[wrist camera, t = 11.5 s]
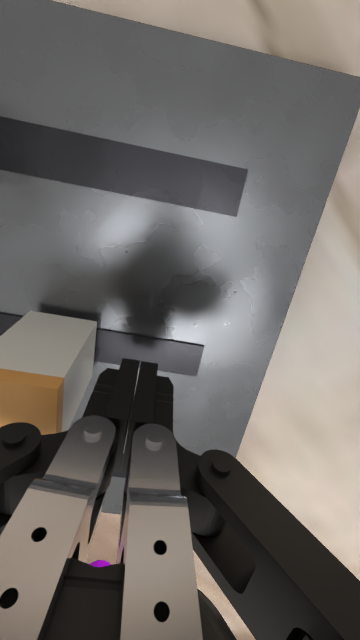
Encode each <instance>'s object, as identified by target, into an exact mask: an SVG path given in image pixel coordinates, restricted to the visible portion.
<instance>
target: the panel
mask: <svg viewBox="0 0 360 640" xmlns="http://www.w3.org/2000/svg"><path fill="white" fill-rule="evenodd" d="M359 108H360V77H357V76H353V75H349V74H345V73H341V72H337V71H333V70H329V69H325V68H321V67H317V66H313V65H309V64H305V63H301V62H297V61H292V60H288V59H284V58H280V57H276V56H272V55H268V54H264V53H260V52H256V51H252V50H248V49H244V48H240V47H236V46H232V45H228V44H224V43H220V42H216V41H212V40H208V39H204V38H200V37H196V36H192V35H188V34H184V33H180V32H176V31H172V30H168V29H164V28H160V27H156V26H152V25H148V24H144V23H140V22H135V21H131V20H127V19H123V18H119V17H115V16H111V15H107V14H103V13H99V12H95V11H91V10H87V9H83V8H79V7H75V6H71V5H67V4H63V3H59V2H55V1H51V0H0V336H1V335H2V334H4V333H5V332H6V331H7V330H8V329H9V328H11V327H12V326H13V325H14V324H15V323H16V322H18V321H19V320H20V319H21V318H22V317H23V316H25V315H26V314H27V313H28V312H29V311H36V312H42V313H48V314H54V315H60V316H66V317H72V318H79V319H85V320H91V321H97V328H96V340H95V351H94V363H93V374H92V378H91V380H90V382H89V384H88V387H87V389H86V391H85V393H84V396H83V398H82V400H81V402H80V405H79V407H78V409H77V411H76V414H75V416H74V418H73V420H72V423H71V425H70V427H69V429H70V428H71V426H72V425H73V424H74V423H75V422H76V421H77V420H79V419H80V418H82V416H83V414H84V411H85V409H86V406H87V404H88V401H89V399H90V396H91V394H92V391H93V389H94V387H95V384H96V382H97V379H98V377H99V374H101V373H102V372H103V371H104V370H106V369H107V368H112V369H118V370H119V368H120V365H121V362H122V359H123V358H126V359H132V360H139V361H140V364H139V370H140V365H141V361H145V362H152V363H158V371H157V376H164V377H169V379H170V380H171V382H172V384H173V385H174V394H173V434H174V436H175V439H176V440H177V442H178V443H179V444H180V445H181V446H182V447H183V448H185V449H186V450H188V451H190V452H193V453H195V454H197V455H200V456H201V455H202V454H203V453H204V452H205V451H208V450H213V449H216V450H222V451H225V452H227V453H229V454H230V455H232V456H233V457H234V458H236V455H237V452H238V449H239V446H240V444H241V441H242V438H243V435H244V432H245V429H246V427H247V424H248V421H249V418H250V415H251V412H252V410H253V407H254V404H255V401H256V398H257V396H258V393H259V390H260V387H261V384H262V381H263V379H264V376H265V373H266V370H267V367H268V365H269V362H270V359H271V356H272V353H273V350H274V348H275V345H276V342H277V339H278V336H279V334H280V331H281V328H282V325H283V322H284V319H285V317H286V314H287V311H288V308H289V305H290V302H291V300H292V297H293V294H294V291H295V288H296V286H297V283H298V280H299V277H300V274H301V271H302V269H303V266H304V263H305V260H306V257H307V255H308V252H309V249H310V246H311V243H312V240H313V238H314V235H315V232H316V229H317V226H318V223H319V221H320V218H321V215H322V212H323V209H324V207H325V204H326V201H327V198H328V195H329V192H330V190H331V187H332V184H333V181H334V178H335V176H336V173H337V170H338V167H339V164H340V161H341V159H342V156H343V153H344V150H345V147H346V144H347V142H348V139H349V136H350V133H351V130H352V128H353V125H354V122H355V119H356V116H357V113H358V111H359ZM139 370H138V375H139ZM137 380H138V376H137ZM136 385H137V382H136ZM135 390H136V388H135ZM134 395H135V394H134ZM128 426H129V425H128ZM69 429H68V430H69ZM127 432H128V430H127ZM126 438H127V435H126ZM125 444H126V440H125ZM124 451H125V445H124V450H123V455H122V460H121V465H120V470H119V472H113V473H112V478H111V482H110V485H109V487H108V489H107V495H106V498H105V501H104V504H103V508H102V511H101V512H104V513H113V514H121V507H122V497H123V491H124V485H125V479H126V473H121V469H122V463H123V457H124Z"/></svg>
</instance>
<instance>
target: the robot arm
mask: <svg viewBox="0 0 360 640" xmlns="http://www.w3.org/2000/svg"><path fill="white" fill-rule="evenodd" d="M139 364H140V361H139V360H132V359H126V358H123V359H122V362H121V365H120V368H119V370H118V369H112V368H107V369H106V370H104V371H103V372H102V373H101V374H99V377H98V379H97V382H96V384H95V387H94V389H93V391H92V394H91V396H90V399H89V401H88V404H87V406H86V409H85V411H84V414H83V416H82V418H80V419H79V420H77V421H76V422H75V423H74V424H73V425H72V426H71V428H70V429H69V430H67V431H64V432H60V433H54V434H46V435H41V432H40V430H39V429H38V428H37V427H36V426H34V425H33V424H30V423H25V422H16V423H11V424H7V425H5V426H2V427H0V640H236V638H235V636H234V635H233V633H232V632H231V630H230V628H229V627H228V625H227V623H226V622H225V620H224V619H223V617H222V616H221V614H220V613H219V611H218V610H217V608H216V607H215V606H214V605H213V603H212V602H211V601H210V600H209V599H208V598H207V597H206V596H205V595H204V594H203V593H202V592H201V591H200V590H198V589H197V582H196V573H195V564H194V555H193V550H194V551H195V553H196V554H197V555H198V557H199V558H200V560H201V561H202V563H203V564H204V565H205V567H206V568H207V570H208V571H209V573H210V574H211V576H212V577H213V578H214V580H215V581H216V583H217V584H218V586H219V587H220V588H221V590H222V591H223V593H224V594H225V596H226V597H227V599H228V600H229V601H230V603H231V604H232V606H233V607H234V609H235V610H236V611H237V613H238V614H239V616H240V617H241V619H242V620H243V622H244V623H245V624H246V626H247V627H248V629H249V630H250V632H251V633H252V635H253V636H254V637H255V639H256V640H360V581H359V580H358V579H357V578H356V577H355V576H354V575H353V574H352V573H351V572H350V571H349V570H348V569H347V568H346V567H345V566H344V565H343V564H342V563H341V562H340V561H339V560H338V559H337V558H336V557H335V556H334V555H333V554H332V553H331V552H330V551H329V550H328V549H327V548H326V547H325V546H324V545H323V544H322V543H321V542H320V541H319V540H318V539H317V538H316V537H315V536H314V535H313V534H312V533H311V532H310V531H309V530H308V529H307V528H306V527H304V526H303V525H302V524H301V523H300V522H299V521H298V520H297V519H296V518H295V517H294V516H293V515H292V514H291V513H290V512H289V511H288V510H287V509H286V508H285V507H284V506H283V505H282V504H281V503H280V502H279V501H278V500H277V499H276V498H275V497H274V496H273V495H272V494H271V493H270V492H269V491H268V490H267V489H266V488H265V487H264V486H263V485H262V484H261V483H260V482H259V481H258V480H257V479H256V478H255V477H254V476H253V475H252V474H251V473H250V472H249V471H248V470H247V469H246V468H245V467H244V466H243V465H242V464H241V463H240V462H239V461H238V460H237V459H236V458H234V457H233V456H232V455H230V454H229V453H227V452H225V451H222V450H216V449H213V450H208V451H205V452H204V453H203V454H202V455H201V456H200V455H197V454H195V453H193V452H190V451H188V450H186V449H185V448H183V447H182V446H181V445H180V444H179V443H178V442H177V440H176V439H175V436H174V434H173V394H174V385H173V384H172V382H171V380H170V379H169V377H164V376H157V371H158V363H152V362H145V361H141V365H140V370H139ZM138 370H139V375H138ZM137 376H138V380H137ZM136 382H137V385H136ZM135 388H136V390H135ZM134 394H135V395H134ZM128 425H129V426H128ZM127 430H128V432H127ZM126 435H127V438H126ZM125 440H126V444H125ZM124 445H125V451H124V457H123V463H122V469H121V473H126V479H125V485H124V491H123V497H122V507H121V518H120V529H119V540H118V550H117V560H116V564H114V565H109V566H103V567H94V566H91V565H89V564H87V563H86V561H87V557H88V553H89V549H90V546H91V543H92V540H93V536H94V533H95V530H96V527H97V524H98V520H99V517H100V514H101V511H102V508H103V504H104V501H105V498H106V495H107V489H108V487H109V485H110V482H111V478H112V473H113V472H119V470H120V465H121V460H122V455H123V450H124Z"/></svg>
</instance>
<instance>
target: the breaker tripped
mask: <svg viewBox="0 0 360 640" xmlns="http://www.w3.org/2000/svg"><path fill="white" fill-rule="evenodd" d="M96 328H97V321H91V320H85V319H79V318H72V317H66V316H60V315H54V314H48V313H42V312H36V311H29V312H28V313H27V314H26V315H25V316H23V317H22V318H21V319H20V320H19V321H18V322H16V323H15V324H14V325H13V326H12V327H11V328H9V329H8V330H7V331H6V332H5V333H4V334H2V335H1V336H0V427H2V426H5V425H7V424H11V423H16V422H25V423H30V424H33V425H34V426H36V427H37V428H38V429H39V430H40V432H41V435H46V434H54V433H60V432H64V431H67V430H68V429H69V427H70V425H71V423H72V420H73V418H74V416H75V414H76V411H77V409H78V407H79V405H80V402H81V400H82V398H83V396H84V393H85V391H86V389H87V387H88V384H89V382H90V380H91V378H92V374H93V363H94V351H95V340H96Z"/></svg>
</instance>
